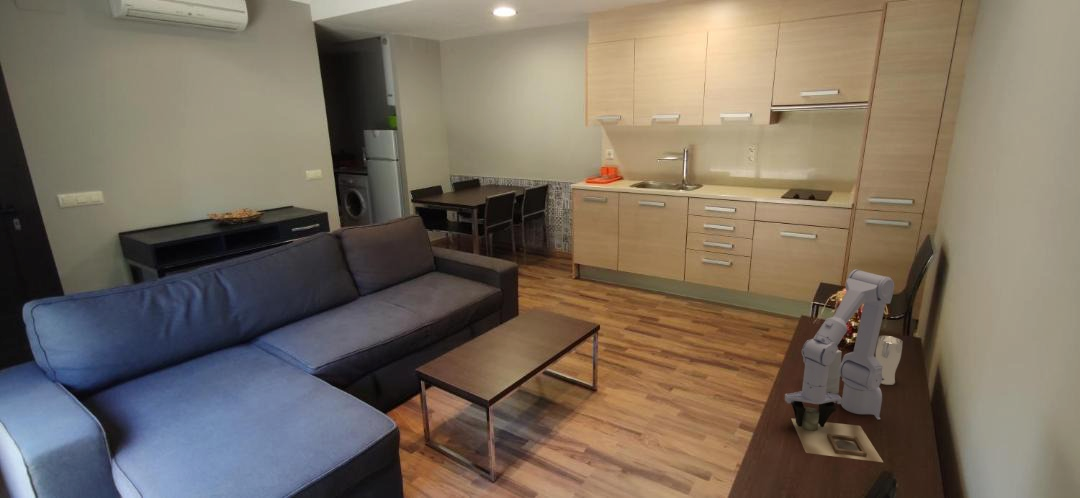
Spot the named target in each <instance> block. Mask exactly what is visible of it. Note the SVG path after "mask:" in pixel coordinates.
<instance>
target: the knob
mask: <svg viewBox="0 0 1080 498" xmlns="http://www.w3.org/2000/svg"><path fill="white" fill-rule="evenodd" d="M805 409H806V410H805V413H804V415H803V422H802V427H803V428H804V429H806V430H808V431H816V430H817V428H818V420H819V409H816V408H813V407H807V406H806V407H805Z"/></svg>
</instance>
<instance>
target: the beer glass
mask: <svg viewBox="0 0 1080 498" xmlns="http://www.w3.org/2000/svg"><path fill="white" fill-rule="evenodd" d="M903 342H904V341H903V340H902V339H900V338H898V337H895V336H891V335H879V336H878V340H877V344H876V348H875V358H876V359H877V360H878V361H879V362H880V363H881V365H882V366H883V367H882V382H881V384H882V385H886V386H893V385H895V384H896V380H895V378H896V377H895V376H896V375H895V374H896V371H897V369H898V366H899V363H900V361H901V358H902V352H903ZM881 384H880V385H881Z"/></svg>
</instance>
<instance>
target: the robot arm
mask: <svg viewBox="0 0 1080 498" xmlns="http://www.w3.org/2000/svg"><path fill="white" fill-rule="evenodd" d="M895 285H896V284H895V283H894V280H893V279H892V278H891V277H890V276H885V275H879V274H876V273H872V272H869V271H868V272H867V271H863V270H861V269H858V268H857V269H854V270H852V271H850V273H849V274H848V276H847V279H846V280H845V291H846V292H845V294H844V296H843V298H842V300H841V301H840V303H839V305H838V307H837V309H836V311H835V312H834V314H833V316H831V317H827V318H826V319H825V320H824V322H823V323H822V324H821V326H820V328H819V329H818V330H817V332H816V333H815V335H814V337H813V338H811V339H808V340H806V341H805V343H804V344H803V346H802V349H801V355H802V357H803V358H802V359H803V361H802V363H804V371H803V379H802V386H801V387H802V388H801V391H795V392H791V393H784V401H785V402H786V403H787V404H791V407H792V410H793V413H794V416H795V417H794V419H796V423H797V425H798V426H799V427H802V422H803V415H804V413H805V410H806V409H805V408H806V407H805V406H804V403H807V404H813V405H818V411H819V420H818V424H819V425H820V426H821V427H824V425H825V423H826V422H828V419H829V417H830V416H831V415H832V414H833V413H834V412H835V411H836V410H837V407H836V405H835V404H837V405H841V407H842V408H843V409H844V410H846V411H847V412H848V413H852V414H856V415H872V416H873V415H874V417H875V418H876V420H879V421H880V420H881V417H880V415H881V408H882V403H883V393H882V390H881V388H880V385H881V382H882V367H883V366H882V365H881V363H880V362H879V361H878V360H877V359H876V356H875V354H876V346H877V342H878V338H879V336H880V335H879V334H880V329H881V327H882V321H883V317H884V314H885V313H884V312H885V308H886V305H887V304H889V305H890V304H891V302H892V298H893V294H894V291H895V290H894V289H895ZM861 306H863V307H862V311H861V315H860V320H859V325H858V328H857V334H856V339H855V344H854V348H853V351H851V352H848V353H845V354H844V355H843V357H842V359H841V364H840V366H839V375H840V378H842V379H841V381H842V382H843V389H842V397H841V396H840V395H839V393H838V394H829V393H826V386H827V378H828V371H829V365H830V364H831V363H832V362H833V361H834V359H835V356H836V352H837V350H839V347H838V346H839V344H840V342H841V341H842V339H843V338H844V336H845V335H846V333H847V332H848V329H849V328H848V325H847V323H848V322H849V321H850V320H851V319H852V317H853V316H854V315H855V314H856V312H858V310H859V308H860V307H861Z"/></svg>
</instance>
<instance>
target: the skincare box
mask: <svg viewBox="0 0 1080 498" xmlns="http://www.w3.org/2000/svg"><path fill="white" fill-rule="evenodd" d="M842 352H843V351H841V350H839V349H838V350H837V352H836V356H835V359H834V361H833V362H832V363H831V364H830V365H829V371H828V378H827V386H826V393H829V394H838V395H839V393H840V381H841V376H840V375H839V366H840V364H841V362H842Z"/></svg>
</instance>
